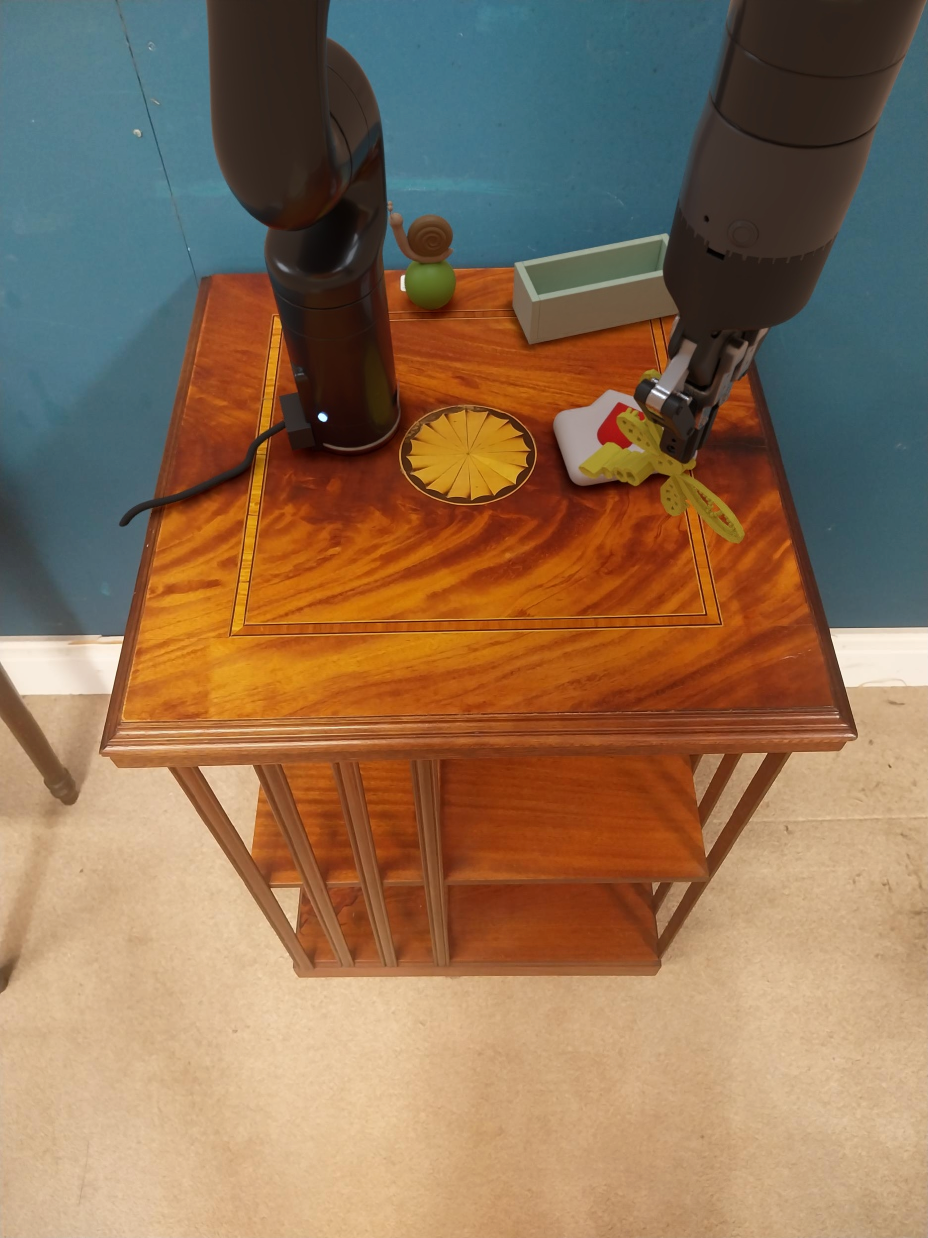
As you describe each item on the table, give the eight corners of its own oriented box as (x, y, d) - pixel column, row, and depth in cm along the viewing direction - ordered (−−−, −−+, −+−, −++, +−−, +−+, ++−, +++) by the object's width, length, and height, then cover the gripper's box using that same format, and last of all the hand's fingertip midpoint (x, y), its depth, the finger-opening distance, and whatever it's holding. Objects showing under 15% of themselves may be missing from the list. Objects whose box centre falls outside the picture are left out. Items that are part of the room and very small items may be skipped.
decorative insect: (659, 529, 64) (755, 533, 55) (630, 556, 64) (722, 564, 55) (575, 382, 60) (664, 360, 51) (542, 408, 59) (627, 391, 50)
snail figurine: (395, 288, 93) (385, 186, 82) (453, 283, 93) (451, 180, 82) (398, 323, 90) (388, 221, 79) (459, 318, 90) (456, 216, 80)
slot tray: (529, 344, 88) (532, 301, 83) (512, 306, 91) (514, 262, 86) (678, 313, 90) (689, 269, 85) (657, 276, 93) (666, 232, 88)
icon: (672, 362, 81) (708, 440, 76) (663, 394, 84) (697, 471, 80) (548, 382, 80) (576, 463, 75) (544, 414, 83) (571, 494, 79)
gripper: (764, 103, 43) (688, 361, 58) (611, 239, 38) (571, 483, 53) (903, 160, 40) (785, 414, 56) (759, 313, 35) (673, 546, 51)
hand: (681, 447), depth 54 cm, fingers closed on decorative insect, 1 cm apart
